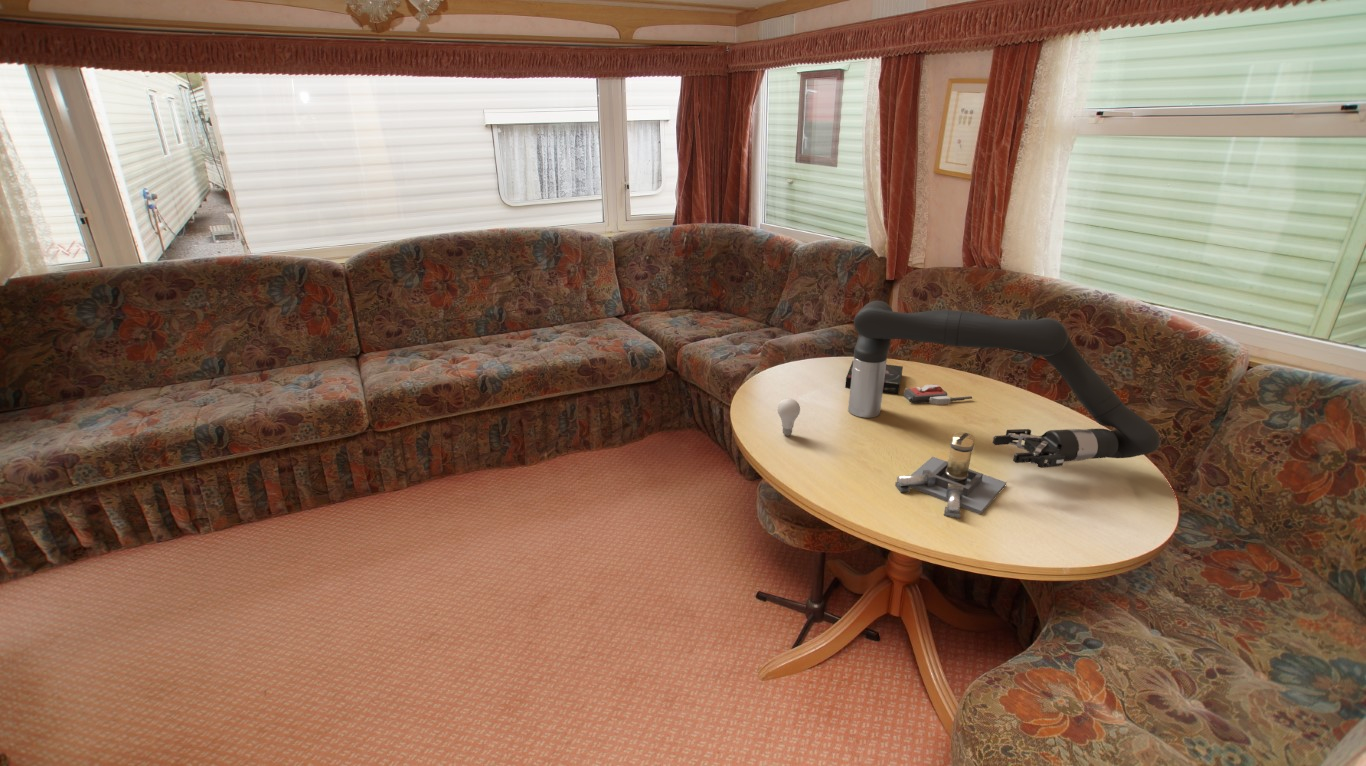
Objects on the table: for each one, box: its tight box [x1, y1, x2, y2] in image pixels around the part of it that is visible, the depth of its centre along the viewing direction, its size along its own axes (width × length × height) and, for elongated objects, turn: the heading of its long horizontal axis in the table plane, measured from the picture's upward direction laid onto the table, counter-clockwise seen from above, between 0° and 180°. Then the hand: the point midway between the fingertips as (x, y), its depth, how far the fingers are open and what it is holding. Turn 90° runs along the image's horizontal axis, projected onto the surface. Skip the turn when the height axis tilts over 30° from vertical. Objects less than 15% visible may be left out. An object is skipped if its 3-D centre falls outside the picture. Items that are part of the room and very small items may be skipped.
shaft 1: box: [894, 470, 936, 494], centre depth 148 cm, size 8×3×4 cm, turn 96°
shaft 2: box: [943, 483, 963, 519], centre depth 141 cm, size 8×3×4 cm, turn 156°
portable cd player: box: [844, 360, 904, 396], centre depth 208 cm, size 16×17×4 cm
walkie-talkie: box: [903, 383, 973, 406], centre depth 195 cm, size 9×4×20 cm
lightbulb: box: [776, 397, 801, 437], centre depth 172 cm, size 6×6×11 cm
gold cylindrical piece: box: [945, 431, 975, 485], centre depth 147 cm, size 5×5×12 cm
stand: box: [908, 456, 1007, 516], centre depth 149 cm, size 16×18×3 cm
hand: (1003, 449), depth 147 cm, fingers open, 8 cm apart
